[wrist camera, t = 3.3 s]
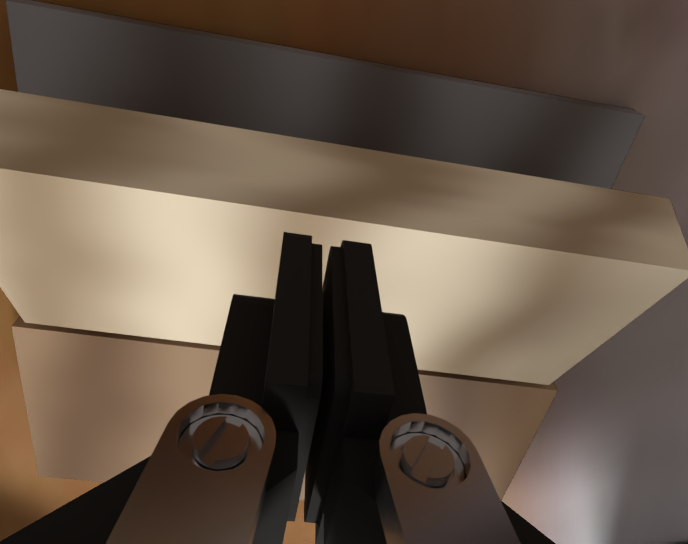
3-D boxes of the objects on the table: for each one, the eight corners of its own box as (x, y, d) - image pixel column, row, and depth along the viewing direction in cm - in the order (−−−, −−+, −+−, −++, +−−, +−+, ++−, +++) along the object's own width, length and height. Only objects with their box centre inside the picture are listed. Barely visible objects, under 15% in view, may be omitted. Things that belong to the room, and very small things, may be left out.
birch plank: (669, 198, 15) (696, 271, 14) (539, 326, 22) (548, 385, 21) (-41, 82, 13) (-91, 155, 12) (50, 262, 20) (24, 322, 19)
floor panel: (633, 109, 19) (687, 140, 16) (476, 458, 28) (492, 517, 25) (18, -3, 16) (-46, 10, 14) (70, 417, 26) (38, 476, 23)
